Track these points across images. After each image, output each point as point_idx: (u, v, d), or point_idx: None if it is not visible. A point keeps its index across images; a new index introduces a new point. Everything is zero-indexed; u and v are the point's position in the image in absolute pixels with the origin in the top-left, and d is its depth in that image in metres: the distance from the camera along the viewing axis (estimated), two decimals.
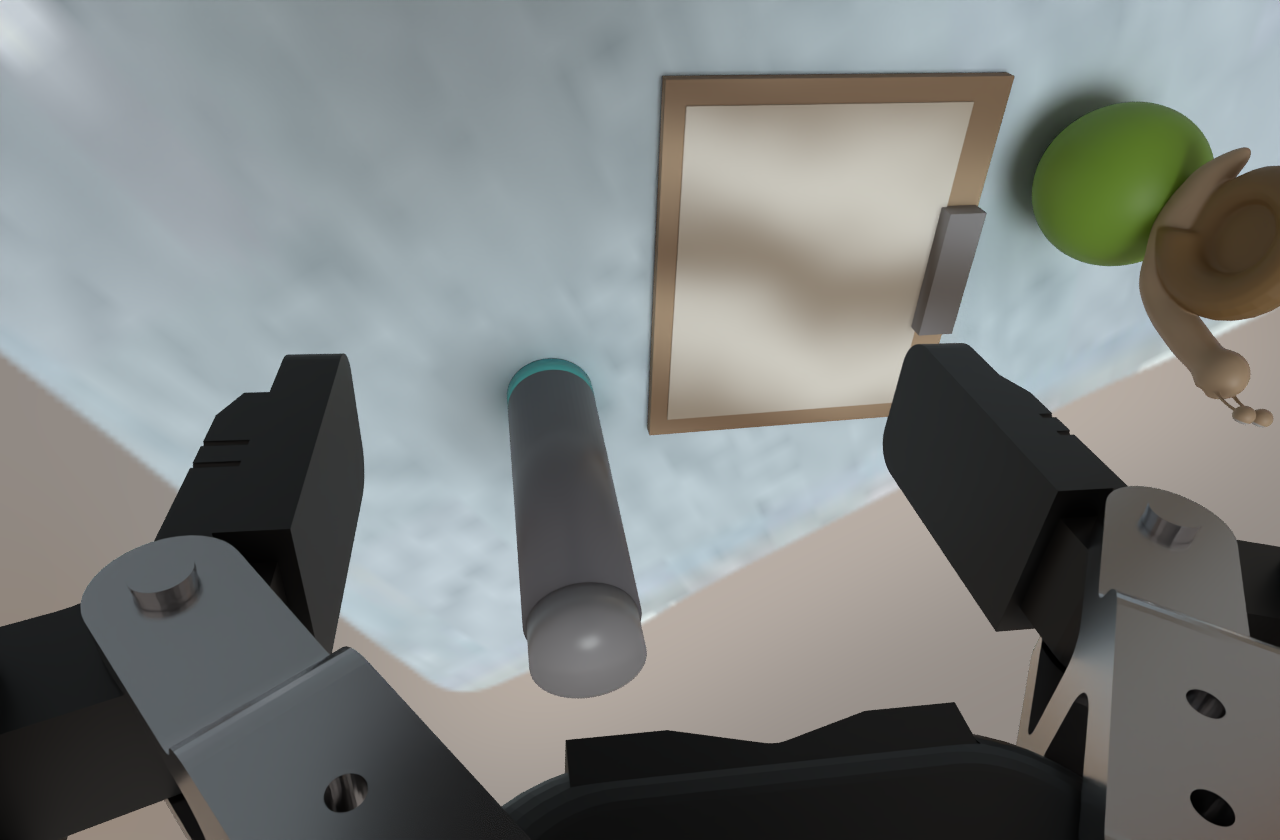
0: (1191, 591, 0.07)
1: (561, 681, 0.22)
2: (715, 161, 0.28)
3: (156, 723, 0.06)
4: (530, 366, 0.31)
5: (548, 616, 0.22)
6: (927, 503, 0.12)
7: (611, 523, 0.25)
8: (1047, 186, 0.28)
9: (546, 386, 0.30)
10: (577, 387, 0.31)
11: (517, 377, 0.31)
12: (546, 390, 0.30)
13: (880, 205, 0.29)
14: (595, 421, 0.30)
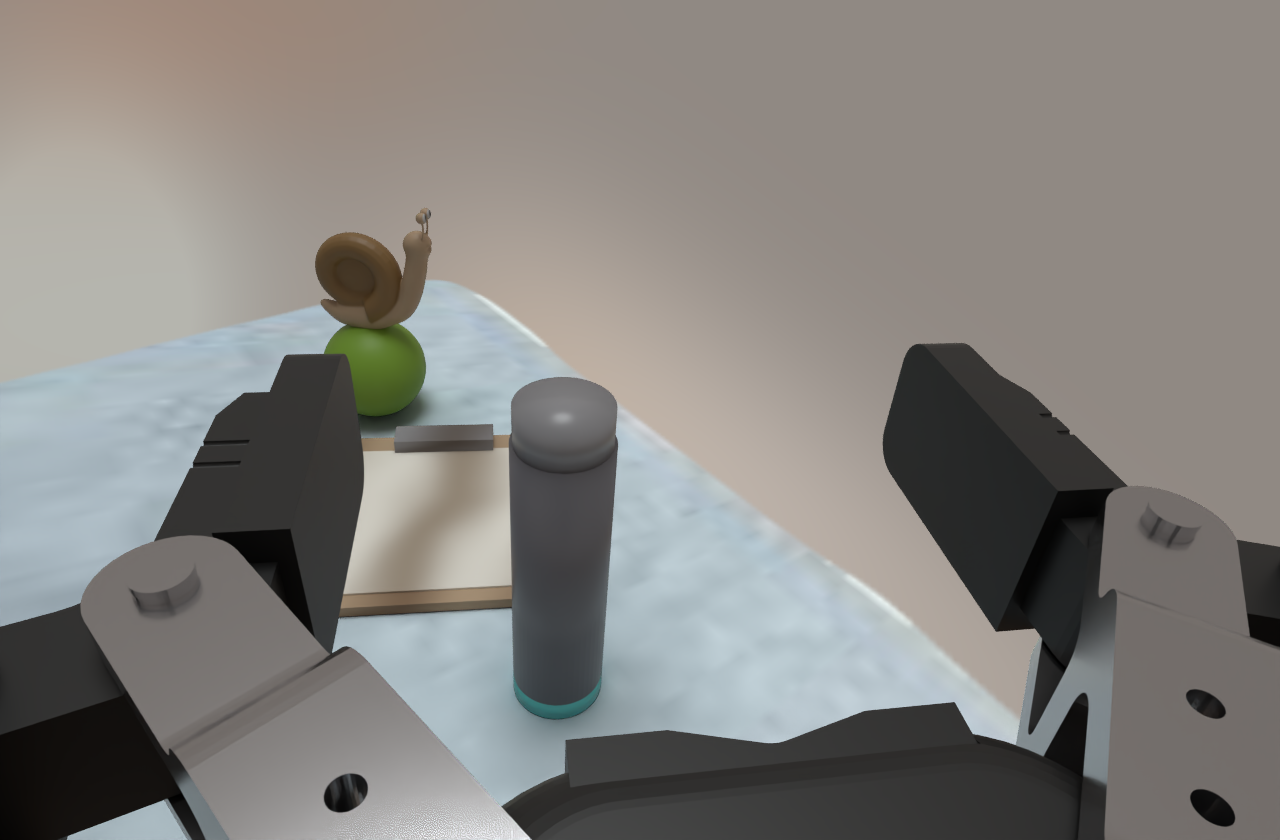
0: (1189, 591, 0.07)
1: (590, 418, 0.24)
2: None
3: (156, 723, 0.06)
4: (518, 696, 0.31)
5: (523, 442, 0.24)
6: (927, 503, 0.12)
7: None
8: (367, 394, 0.43)
9: (514, 657, 0.31)
10: None
11: (529, 705, 0.31)
12: (513, 653, 0.30)
13: (387, 482, 0.40)
14: None
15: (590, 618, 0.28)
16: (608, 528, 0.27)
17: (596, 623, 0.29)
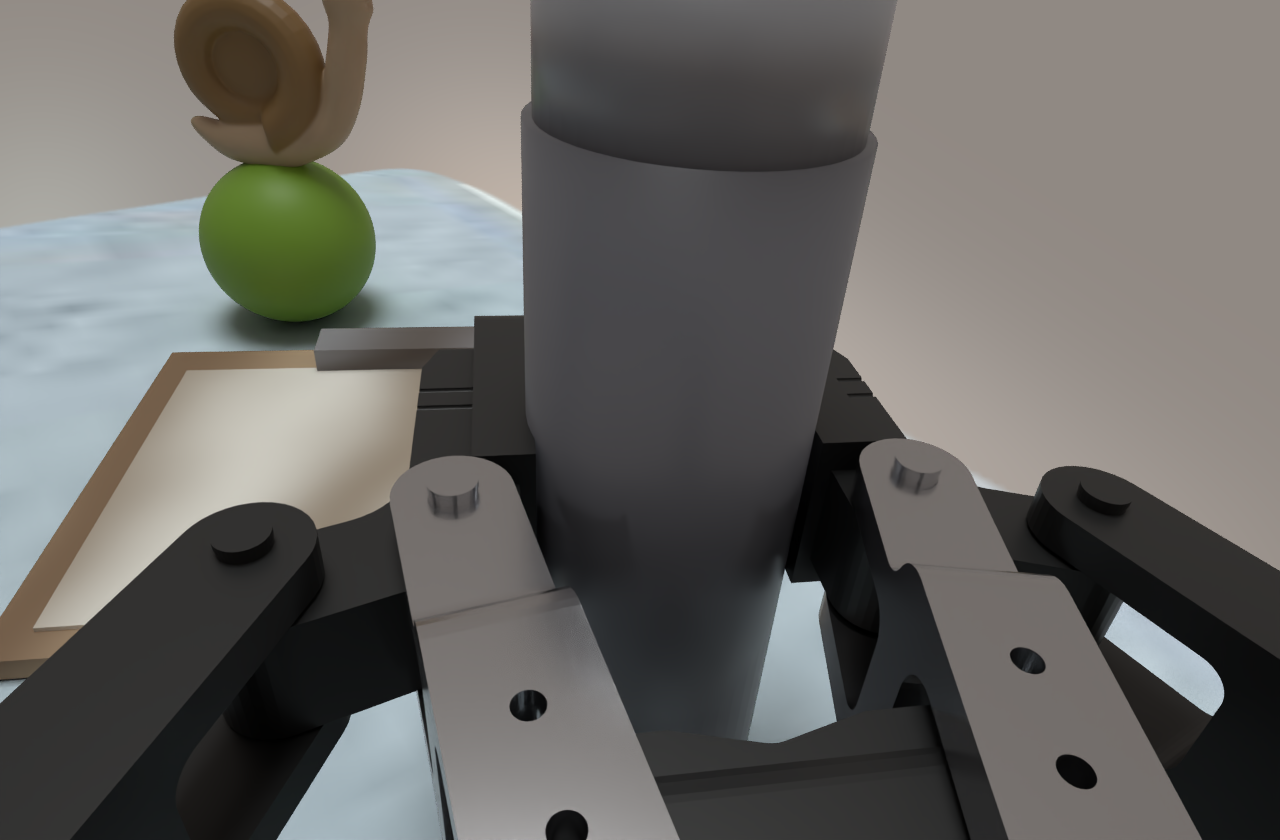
0: (957, 536, 0.08)
1: None
2: None
3: (414, 598, 0.07)
4: None
5: (581, 51, 0.06)
6: None
7: None
8: (272, 275, 0.25)
9: None
10: None
11: None
12: None
13: (297, 415, 0.23)
14: None
15: (742, 680, 0.10)
16: (817, 417, 0.09)
17: (752, 690, 0.11)
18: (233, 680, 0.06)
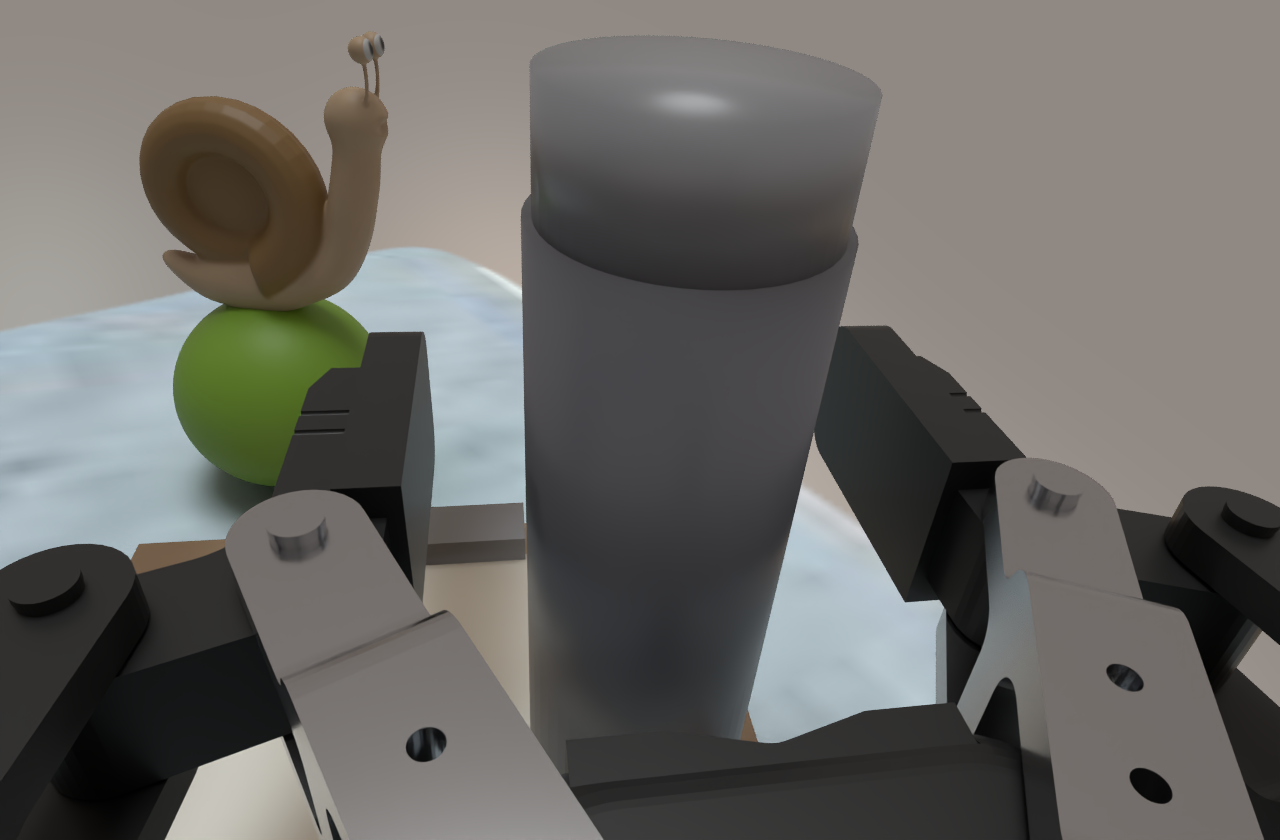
0: (1084, 559, 0.08)
1: (804, 96, 0.07)
2: None
3: (273, 655, 0.06)
4: None
5: (577, 177, 0.07)
6: (849, 481, 0.12)
7: None
8: (262, 447, 0.21)
9: None
10: None
11: None
12: None
13: None
14: None
15: (729, 715, 0.11)
16: (800, 484, 0.10)
17: (738, 722, 0.12)
18: (61, 737, 0.06)
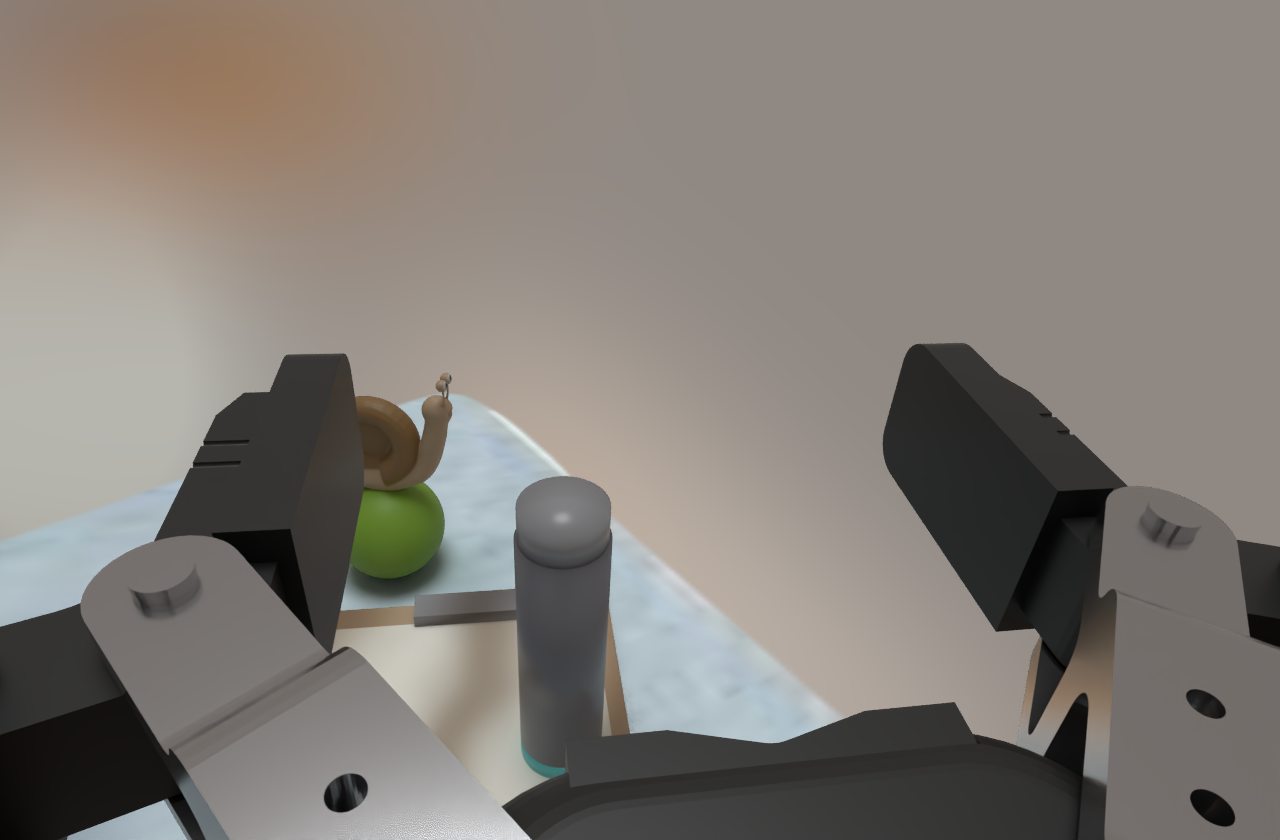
0: (1191, 591, 0.07)
1: (586, 518, 0.27)
2: None
3: (157, 722, 0.06)
4: (525, 758, 0.34)
5: (527, 541, 0.27)
6: (927, 503, 0.12)
7: None
8: (384, 562, 0.40)
9: (521, 723, 0.33)
10: None
11: (535, 767, 0.33)
12: (520, 720, 0.33)
13: (407, 667, 0.37)
14: None
15: (590, 690, 0.31)
16: (605, 611, 0.29)
17: (596, 694, 0.31)
18: None
